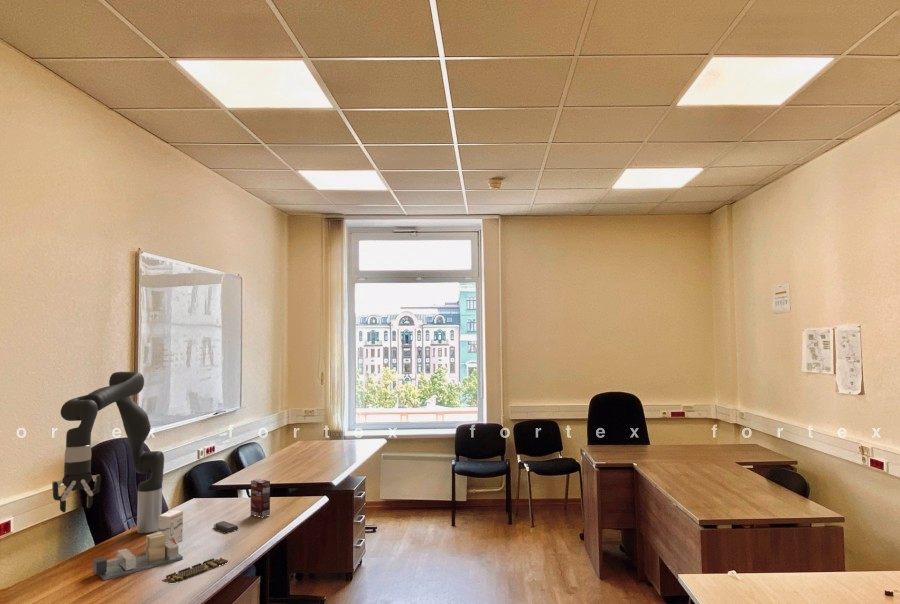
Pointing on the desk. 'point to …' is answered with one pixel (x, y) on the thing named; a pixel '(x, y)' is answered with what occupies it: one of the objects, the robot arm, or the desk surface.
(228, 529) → the usb drive
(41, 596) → the desk surface
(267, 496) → the supplement box
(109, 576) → the vise base
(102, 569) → the free jaw
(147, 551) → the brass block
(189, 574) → the keyboard
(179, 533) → the ink box
